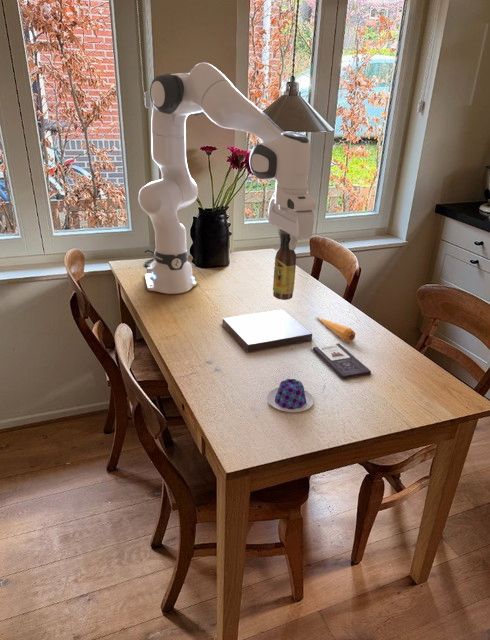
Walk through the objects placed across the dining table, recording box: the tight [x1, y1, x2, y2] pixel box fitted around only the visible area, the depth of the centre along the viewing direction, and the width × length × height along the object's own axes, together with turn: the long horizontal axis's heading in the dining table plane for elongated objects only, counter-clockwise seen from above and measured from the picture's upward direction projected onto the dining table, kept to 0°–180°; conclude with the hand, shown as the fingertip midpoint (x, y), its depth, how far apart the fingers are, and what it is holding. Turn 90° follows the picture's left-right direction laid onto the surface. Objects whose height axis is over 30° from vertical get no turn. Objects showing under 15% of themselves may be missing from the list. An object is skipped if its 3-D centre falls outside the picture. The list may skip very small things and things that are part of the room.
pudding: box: [266, 378, 315, 413], centre depth 135 cm, size 12×12×5 cm
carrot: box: [317, 317, 356, 343], centre depth 174 cm, size 20×4×4 cm, turn 27°
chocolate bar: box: [312, 342, 372, 380], centre depth 156 cm, size 9×1×18 cm
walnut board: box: [222, 309, 313, 353], centre depth 170 cm, size 20×22×2 cm
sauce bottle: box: [272, 231, 297, 301], centre depth 156 cm, size 6×6×20 cm
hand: (287, 246), depth 153 cm, fingers closed on sauce bottle, 4 cm apart
